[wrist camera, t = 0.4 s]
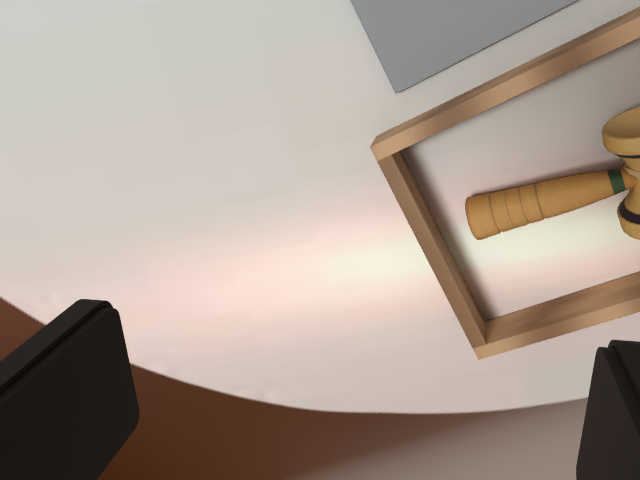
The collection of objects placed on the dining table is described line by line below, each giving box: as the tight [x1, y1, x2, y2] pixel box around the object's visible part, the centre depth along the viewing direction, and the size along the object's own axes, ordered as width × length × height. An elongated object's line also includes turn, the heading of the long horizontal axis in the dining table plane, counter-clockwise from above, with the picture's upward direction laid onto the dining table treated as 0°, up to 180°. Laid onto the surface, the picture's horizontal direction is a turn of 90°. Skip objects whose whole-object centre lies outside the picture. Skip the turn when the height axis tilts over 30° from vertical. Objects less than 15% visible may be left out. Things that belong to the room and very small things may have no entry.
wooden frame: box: [370, 7, 640, 360], centre depth 34 cm, size 25×17×3 cm
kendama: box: [465, 106, 640, 240], centre depth 33 cm, size 8×6×18 cm
